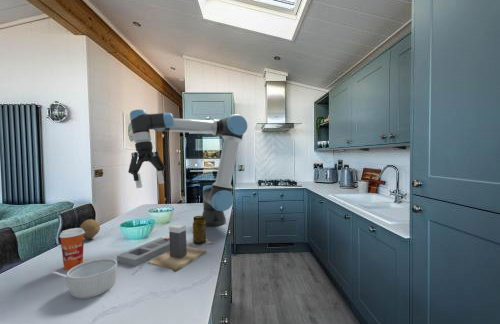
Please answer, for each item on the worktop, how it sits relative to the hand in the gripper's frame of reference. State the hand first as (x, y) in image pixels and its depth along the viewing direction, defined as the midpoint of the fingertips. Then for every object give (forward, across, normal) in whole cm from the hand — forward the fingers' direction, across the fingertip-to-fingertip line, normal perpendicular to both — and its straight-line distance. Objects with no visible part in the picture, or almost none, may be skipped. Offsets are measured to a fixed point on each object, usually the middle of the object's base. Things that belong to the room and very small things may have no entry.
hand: (151, 185), depth 115 cm
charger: (+30, +11, +20) cm, 37 cm away
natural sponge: (+21, +9, -38) cm, 44 cm away
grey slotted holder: (+28, +13, +6) cm, 31 cm away
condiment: (+31, -7, +17) cm, 36 cm away
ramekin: (+29, +39, +10) cm, 49 cm away
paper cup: (+25, +32, -12) cm, 42 cm away
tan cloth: (+31, +11, +19) cm, 38 cm away
